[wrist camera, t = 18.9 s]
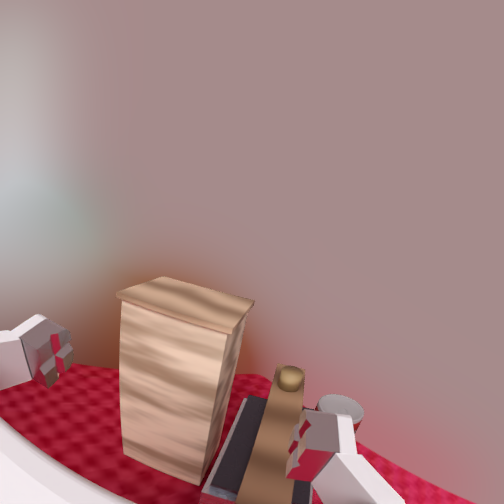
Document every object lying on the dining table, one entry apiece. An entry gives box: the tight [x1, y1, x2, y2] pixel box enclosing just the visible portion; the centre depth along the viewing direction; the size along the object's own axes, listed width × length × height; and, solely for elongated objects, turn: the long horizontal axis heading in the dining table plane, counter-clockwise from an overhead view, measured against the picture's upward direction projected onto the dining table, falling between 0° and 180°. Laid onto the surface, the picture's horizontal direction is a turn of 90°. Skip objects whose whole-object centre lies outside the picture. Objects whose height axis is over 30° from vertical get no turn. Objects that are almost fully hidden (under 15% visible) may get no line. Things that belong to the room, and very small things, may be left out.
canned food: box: [315, 394, 364, 434], centre depth 40 cm, size 8×8×11 cm
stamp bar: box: [234, 363, 305, 504], centre depth 23 cm, size 22×4×6 cm, turn 169°
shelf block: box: [116, 276, 255, 486], centre depth 34 cm, size 11×13×26 cm
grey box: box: [199, 395, 314, 504], centre depth 25 cm, size 16×9×16 cm, turn 169°
